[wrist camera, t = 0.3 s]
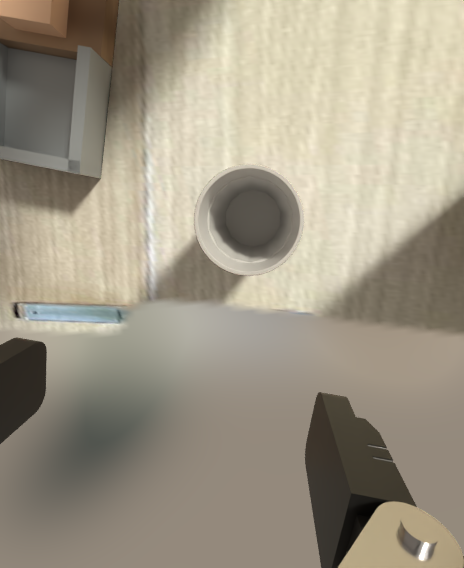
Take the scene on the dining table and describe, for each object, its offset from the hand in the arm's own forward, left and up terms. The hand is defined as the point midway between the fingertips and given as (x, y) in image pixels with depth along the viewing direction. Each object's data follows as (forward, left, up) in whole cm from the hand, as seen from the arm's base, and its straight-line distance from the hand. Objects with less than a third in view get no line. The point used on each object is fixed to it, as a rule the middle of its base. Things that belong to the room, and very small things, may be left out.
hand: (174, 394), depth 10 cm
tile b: (-20, -23, -26) cm, 40 cm away
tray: (-11, -23, -29) cm, 38 cm away
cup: (-5, 0, -29) cm, 29 cm away
